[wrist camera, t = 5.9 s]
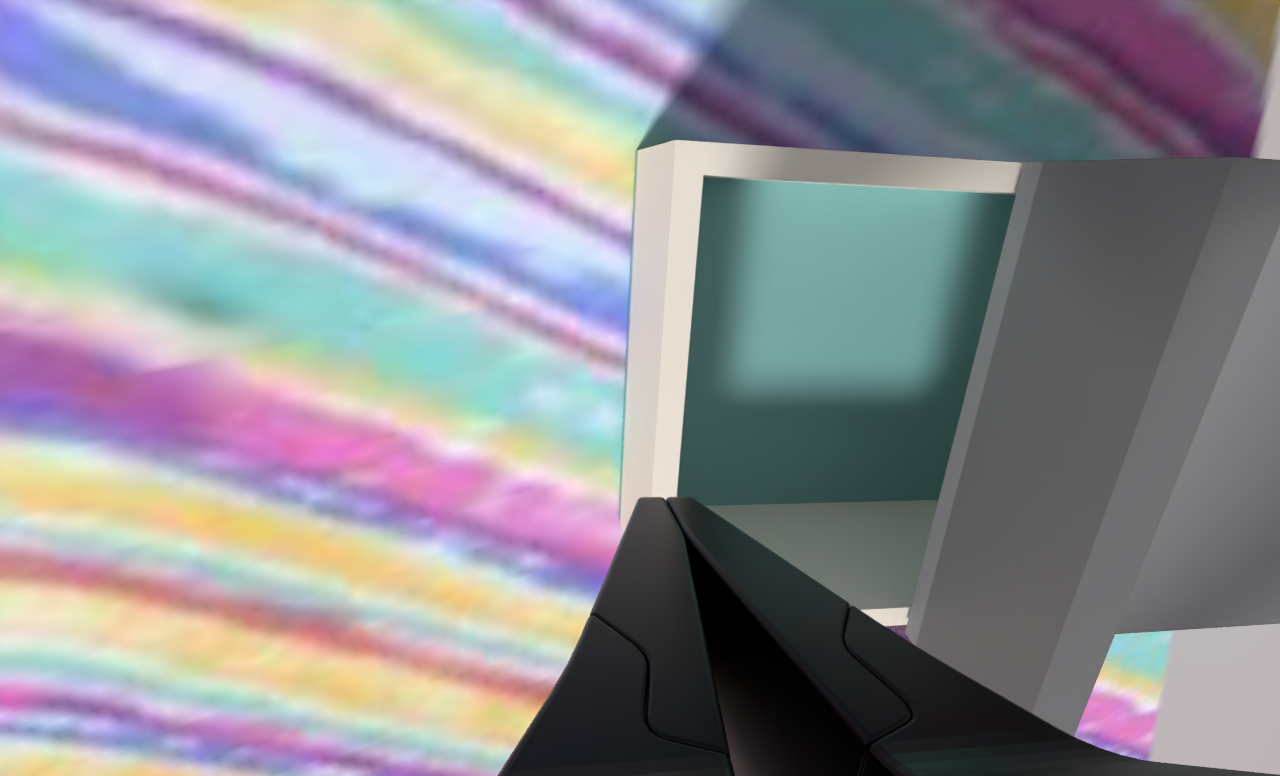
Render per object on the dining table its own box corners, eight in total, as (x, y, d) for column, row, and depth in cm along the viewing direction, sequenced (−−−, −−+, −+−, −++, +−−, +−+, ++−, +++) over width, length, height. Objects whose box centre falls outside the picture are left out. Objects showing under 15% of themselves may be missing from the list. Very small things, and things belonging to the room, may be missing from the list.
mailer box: (977, 505, 23) (1113, 612, 17) (618, 515, 21) (641, 640, 15) (1068, 178, 19) (1285, 179, 13) (635, 150, 17) (675, 139, 11)
